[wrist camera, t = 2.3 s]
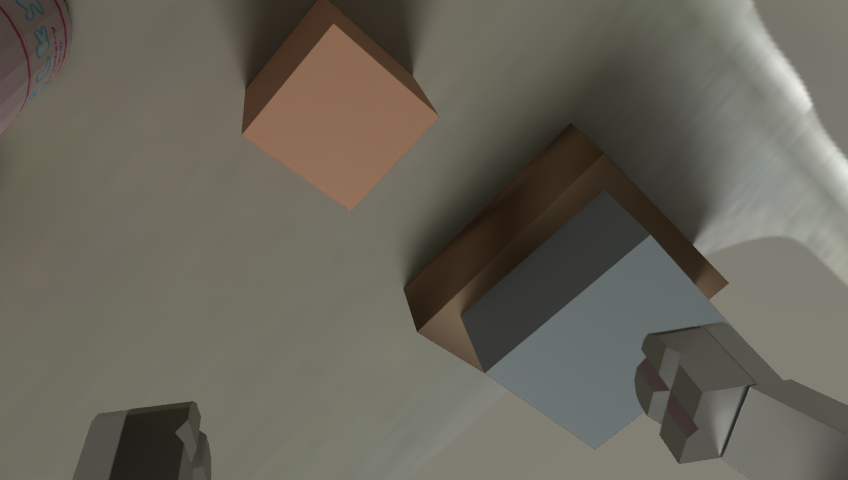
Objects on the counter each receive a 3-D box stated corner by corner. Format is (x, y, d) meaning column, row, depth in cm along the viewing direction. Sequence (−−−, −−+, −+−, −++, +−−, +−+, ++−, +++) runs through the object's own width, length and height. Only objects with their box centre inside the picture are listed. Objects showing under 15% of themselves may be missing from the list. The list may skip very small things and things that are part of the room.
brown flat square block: (537, 372, 39) (562, 420, 36) (401, 284, 33) (417, 332, 30) (686, 243, 36) (728, 282, 33) (567, 119, 30) (604, 153, 27)
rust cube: (338, 158, 28) (350, 211, 24) (245, 89, 26) (241, 135, 21) (412, 75, 27) (438, 116, 23) (322, -6, 24) (333, 23, 20)
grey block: (563, 392, 34) (594, 449, 31) (460, 316, 30) (484, 373, 26) (693, 288, 32) (742, 338, 29) (604, 189, 28) (650, 234, 24)
